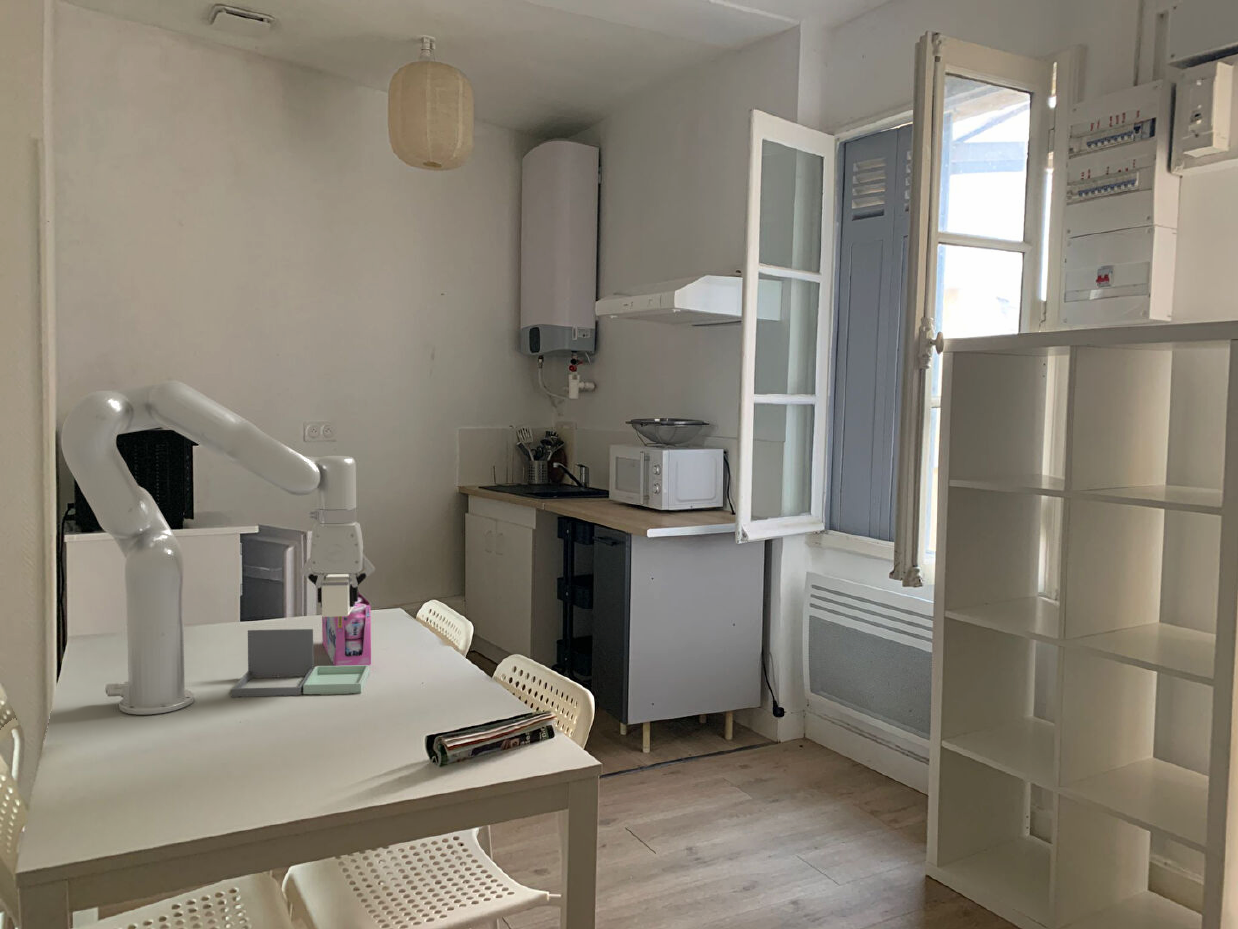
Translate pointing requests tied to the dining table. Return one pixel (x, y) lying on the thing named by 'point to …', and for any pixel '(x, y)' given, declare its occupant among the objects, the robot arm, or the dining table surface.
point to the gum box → (349, 635)
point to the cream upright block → (336, 595)
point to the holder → (277, 659)
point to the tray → (336, 679)
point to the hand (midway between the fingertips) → (338, 604)
